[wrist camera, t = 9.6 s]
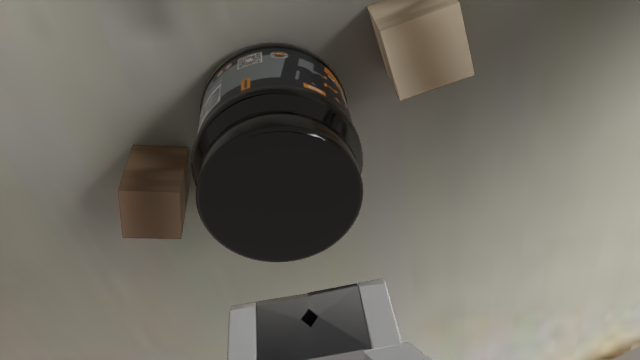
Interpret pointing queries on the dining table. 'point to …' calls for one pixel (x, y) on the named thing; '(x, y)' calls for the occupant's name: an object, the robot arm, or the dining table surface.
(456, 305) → the dining table surface
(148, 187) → the walnut block
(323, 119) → the supplement container
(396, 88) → the beech block
